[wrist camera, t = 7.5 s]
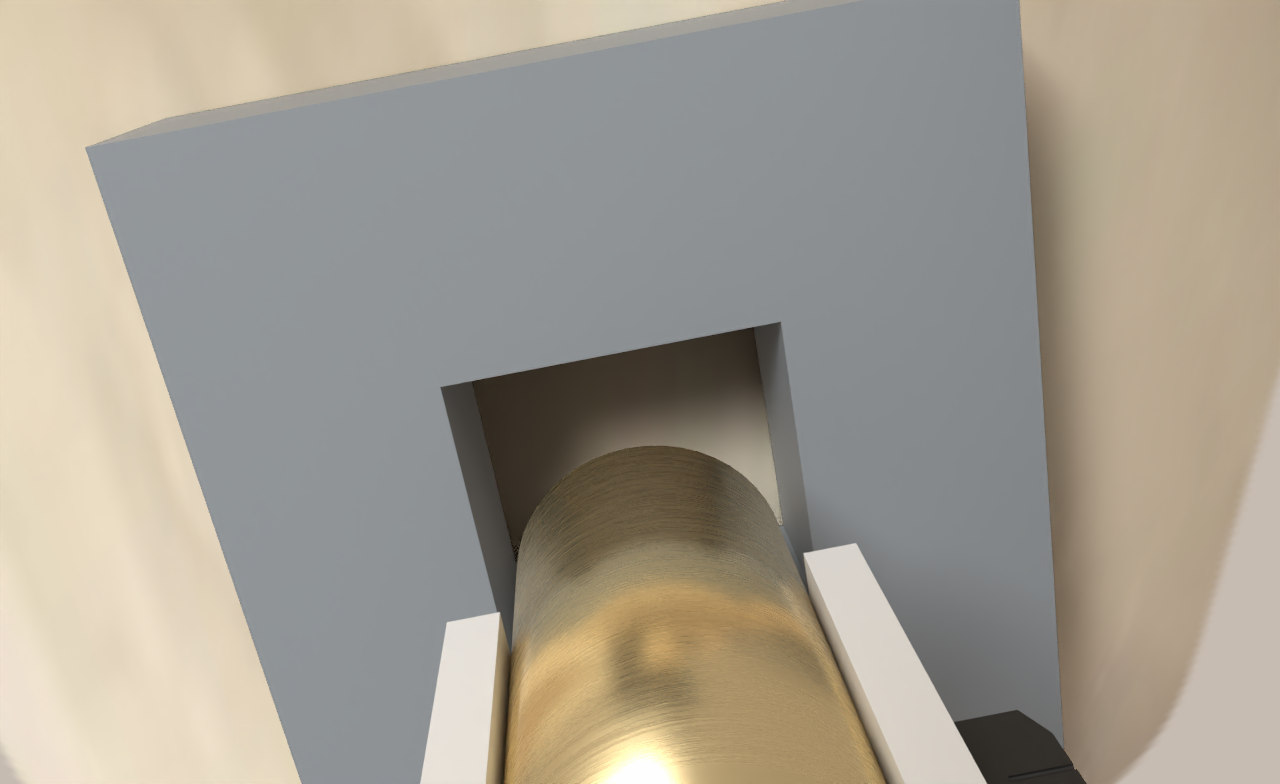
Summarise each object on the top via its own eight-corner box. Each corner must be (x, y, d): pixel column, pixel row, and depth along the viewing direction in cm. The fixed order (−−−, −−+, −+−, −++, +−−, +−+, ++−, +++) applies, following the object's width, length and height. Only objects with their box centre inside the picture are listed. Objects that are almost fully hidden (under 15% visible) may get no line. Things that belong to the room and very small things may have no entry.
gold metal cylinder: (489, 476, 18) (444, 821, 11) (763, 420, 18) (910, 725, 11) (548, 709, 20) (545, 1155, 12) (802, 657, 20) (956, 1071, 12)
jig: (164, 118, 22) (85, 148, 18) (937, -29, 22) (1016, -30, 18) (377, 795, 28) (349, 924, 24) (996, 674, 28) (1066, 784, 24)
